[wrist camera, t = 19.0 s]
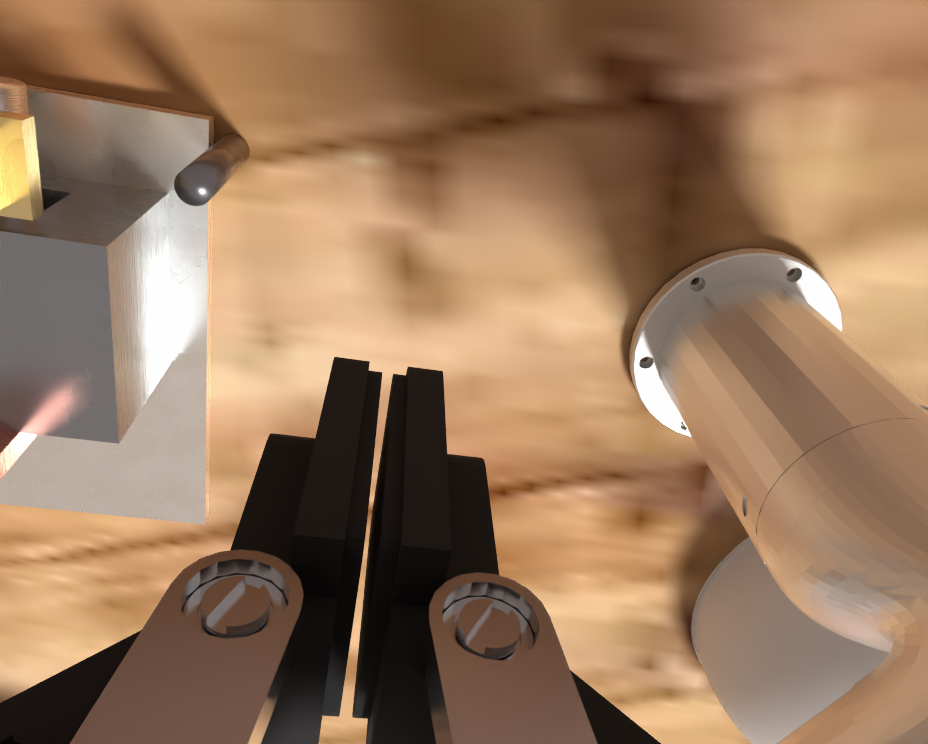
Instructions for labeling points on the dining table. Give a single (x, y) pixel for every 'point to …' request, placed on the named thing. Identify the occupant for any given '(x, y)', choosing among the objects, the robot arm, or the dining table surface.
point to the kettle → (769, 650)
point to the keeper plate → (19, 167)
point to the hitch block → (113, 310)
